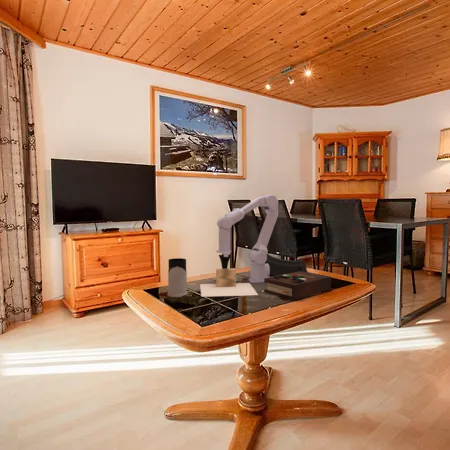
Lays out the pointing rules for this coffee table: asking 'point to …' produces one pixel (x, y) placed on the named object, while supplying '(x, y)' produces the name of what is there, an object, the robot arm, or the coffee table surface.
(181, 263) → the glass holder
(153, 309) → the coffee table surface
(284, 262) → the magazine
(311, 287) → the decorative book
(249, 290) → the mat
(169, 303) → the coffee table surface
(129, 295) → the coffee table surface
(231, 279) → the tile
